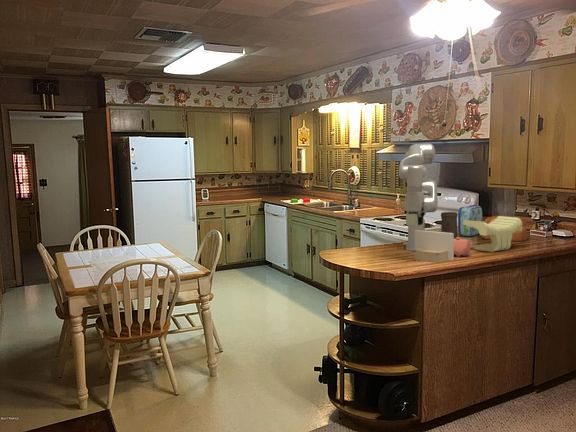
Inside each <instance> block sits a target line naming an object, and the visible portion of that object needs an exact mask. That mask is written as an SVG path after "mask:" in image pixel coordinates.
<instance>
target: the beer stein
mask: <svg viewBox="0 0 576 432" xmlns="http://www.w3.org/2000/svg"><path fill="white" fill-rule="evenodd" d="M440 213H441V214H440V216H441V217H440V218H441V224H440V225H441V226H440V228H441V229H440V230H441V231H440V232H445V233H454V239H456V237H458V212H454V211H445V212H443V211H442V212H440Z"/></svg>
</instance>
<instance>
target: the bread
mask: <svg viewBox="0 0 576 432" xmlns="http://www.w3.org/2000/svg"><path fill="white" fill-rule="evenodd" d="M498 216H499V215H493V216H488V217H487V218H485V220H484V221H483V222H484V223H487V224H489V223H490V222H492V221H493V220H495V219H497V217H498ZM503 216H504V217H509V216H507V215H503ZM515 217H516V218H519V219H520V220H521V221H522V231H515V232H514V233H512V239H511V242H524V241H526V240H527V239H528V231H527V224H526V221H525V220H524V219H523V218H522V217H517V216H515ZM480 236H481V238H482V239H483V238H484V240H491V238H490V236H489V235H487V236H484V235H480Z"/></svg>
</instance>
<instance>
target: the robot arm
mask: <svg viewBox="0 0 576 432" xmlns="http://www.w3.org/2000/svg"><path fill="white" fill-rule="evenodd" d="M435 160H436V149H435V146H434V145H433V144H432V143H414V144H411V146H409V148H408V151H406V152H405V154H404V159H402V160H400V162H399V166H398V177H399V179H401V180H407V181H406V182H407V184H406V185H407V187H405V190H406V191H407V192H405V196H404V206H403V207H402V211H403V212H404V214H405V215H406V214H409V213H412V212H418V215H419V217H418V225H420V226H408V225H407V235H408V236H407V238H408V239H407V241H403V243H402V244H403V246H405V250H406V251H411V252H414V250H415V230H421V231H426V230H425V229H426V226H425V224H426V223H425V222H426V220H425V219H424V225H421V224H423V217H424V218H425V215H426V214H427V213H436V211H437V210H438V185H437V181H436V180H434V179H430V178H428V179H425V177H426V176H427V168H426V167H425V166H424V165H431V164H434V162H435Z"/></svg>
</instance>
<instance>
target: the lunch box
mask: <svg viewBox="0 0 576 432" xmlns="http://www.w3.org/2000/svg"><path fill="white" fill-rule="evenodd" d="M457 215H458V216H457V233H458V234H459V236H460V237H461V236H462V237H475V236H478V235H480V234H479V231H478V229H475V228H473V227H470V226H467V225H463V220H470V221H480V222H483V209H482V207H481V206H480V205H477V204H471V205H468V206H462V207H461V206H460V207H459V208H458V212H457Z"/></svg>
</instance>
